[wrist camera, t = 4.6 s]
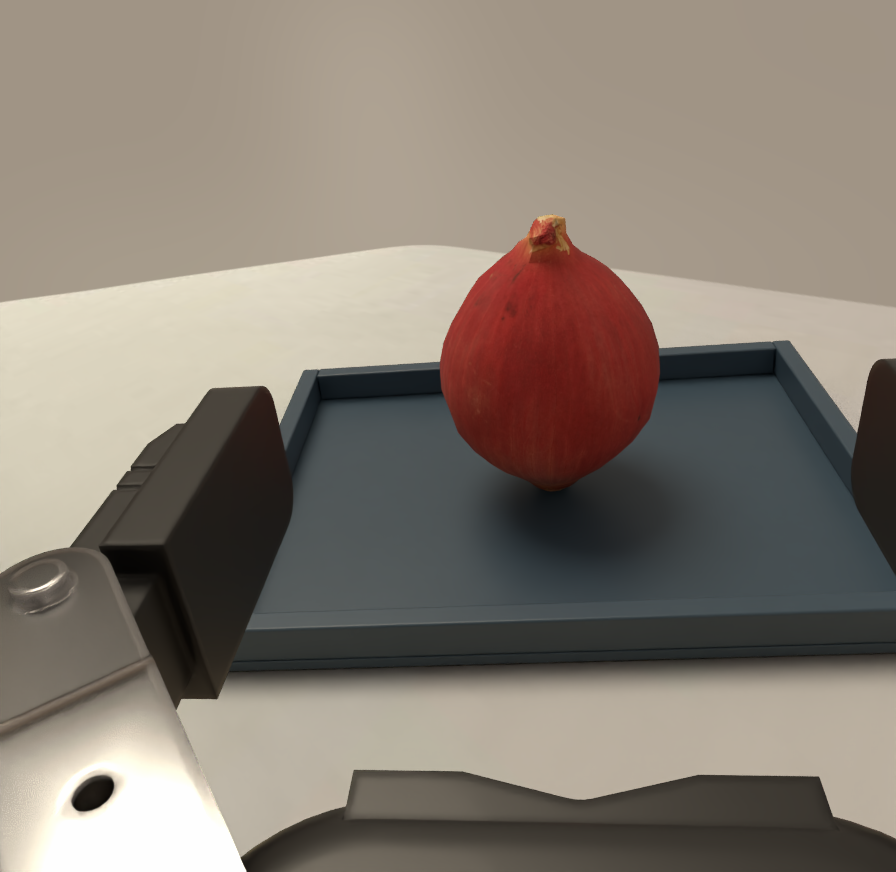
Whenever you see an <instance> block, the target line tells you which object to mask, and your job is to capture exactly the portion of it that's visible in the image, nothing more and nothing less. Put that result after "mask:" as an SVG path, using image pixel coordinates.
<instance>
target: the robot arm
mask: <svg viewBox="0 0 896 872" xmlns="http://www.w3.org/2000/svg"><path fill="white" fill-rule="evenodd" d="M851 486H852V493H853V498H854V501H855V504H856V507H857V509H858V511H859V513H860V515H861V517H862V518H863V520H864V522H865V524H866V525H867V527H868V529H869V531H870V532H871V534H872V536H873V537H874V539H875V541H876V543H877V544H878V546H879V548H880V550H881V551H882V553H883V555H884V557H885V558H886V560H887V562H888V564H889V565H890V567H891V569H892V571H893V572H894V574H895V576H896V359H880V360H878V361H876V362H875V363H874V365H873V366H872V368H871V370H870V373H869V376H868V381H867V386H866V391H865V396H864V401H863V406H862V412H861V417H860V422H859V427H858V432H857V438H856V443H855V448H854V453H853V459H852V465H851ZM292 511H293V484H292V478H291V473H290V469H289V465H288V460H287V456H286V452H285V448H284V443H283V439H282V435H281V430H280V426H279V422H278V418H277V413H276V409H275V405H274V401H273V398H272V395H271V393H270V391H269V390H268V389H267V388H266V387H264V386H252V387H230V388H212V389H210V390H209V391H208V392H207V394H206V395H205V396H204V398H203V399H202V401H201V402H200V404H199V405H198V406H197V408H196V409H195V411H194V412H193V413H192V415H191V416H190V418H189V419H188V420H187V422H186V423H185V424H176V425H174V426H173V427H171V428H170V429H169V430H167V431H166V432H164V433H163V434H161V435H160V436H159V437H157V438H156V439H154V440H153V441H151V442H150V443H148V444H147V446H146V447H145V448H144V450H143V451H142V452H141V454H140V455H139V456H138V458H137V459H136V460H135V462H134V463H133V464H132V466H131V471H127V472H126V473H125V475H124V476H123V477H122V479H121V480H120V481H119V483H118V484H117V490H113V491H112V492H111V493H110V495H109V496H108V497H107V499H106V500H105V501H104V503H103V504H102V505H101V507H100V508H99V509H98V511H97V512H96V513H95V515H94V516H93V517H92V519H91V520H90V521H89V523H88V524H87V525H86V526H85V528H84V529H83V530H82V532H81V533H80V534H79V536H78V537H77V538H76V540H75V541H74V542H73V544H72V545H71V546H70V548H62V549H56V550H52V551H48V552H44V553H41V554H38V555H35V556H32V557H30V558H28V559H25V560H23V561H21V562H19V563H17V564H15V565H14V566H12V567H10V568H8V569H7V570H5V571H4V572H2V573H1V574H0V872H896V839H895V838H893V837H891V836H889V835H886V834H884V833H882V832H880V831H877V830H874V829H871V828H868V827H865V826H862V825H860V824H857V823H854V822H851V821H848V820H844V819H840V818H836V817H833V816H832V813H831V810H830V807H829V804H828V801H827V798H826V795H825V792H824V789H823V787H822V784H821V781H820V778H819V777H808V776H738V775H696V776H692V777H687V778H683V779H678V780H674V781H669V782H665V783H660V784H656V785H652V786H647V787H643V788H638V789H634V790H629V791H625V792H620V793H616V794H611V795H607V796H602V797H598V798H593V799H587V800H575V799H569V798H564V797H560V796H556V795H553V794H549V793H545V792H541V791H537V790H533V789H529V788H525V787H521V786H517V785H513V784H509V783H505V782H501V781H497V780H493V779H490V778H486V777H482V776H478V775H474V774H470V773H466V772H458V771H388V770H354V772H353V776H352V781H351V786H350V790H349V795H348V800H347V805H346V807H342V808H338V809H334V810H330V811H328V812H325V813H322V814H319V815H316V816H313V817H310V818H308V819H305V820H303V821H301V822H299V823H297V824H294V825H292V826H290V827H288V828H286V829H284V830H282V831H280V832H278V833H277V834H275V835H273V836H272V837H270V838H268V839H267V840H265V841H263V842H262V843H260V844H258V845H257V846H255V847H254V848H253V849H251V850H250V851H249V852H247V853H246V854H245V855H243V856H242V857H241V858H240V856H239V854H238V852H237V849H236V847H235V845H234V842H233V840H232V838H231V836H230V833H229V831H228V829H227V826H226V824H225V822H224V819H223V817H222V815H221V813H220V810H219V808H218V806H217V803H216V801H215V799H214V796H213V794H212V792H211V790H210V787H209V785H208V783H207V780H206V778H205V776H204V773H203V771H202V769H201V767H200V764H199V762H198V760H197V757H196V755H195V753H194V751H193V748H192V746H191V744H190V741H189V739H188V737H187V734H186V732H185V730H184V728H183V725H182V723H181V721H180V718H179V716H178V714H177V711H176V710H177V707H178V705H179V703H180V701H181V699H218V696H219V694H220V691H221V689H222V686H223V684H224V681H225V679H226V677H227V674H228V672H229V669H230V667H231V664H232V662H233V660H234V657H235V655H236V652H237V650H238V647H239V645H240V643H241V640H242V638H243V635H244V633H245V630H246V628H247V625H248V623H249V621H250V618H251V616H252V613H253V611H254V608H255V606H256V604H257V601H258V599H259V596H260V594H261V591H262V589H263V586H264V584H265V582H266V579H267V577H268V574H269V572H270V569H271V567H272V565H273V562H274V560H275V557H276V555H277V552H278V550H279V548H280V545H281V543H282V540H283V538H284V535H285V533H286V530H287V528H288V526H289V523H290V520H291V516H292Z"/></svg>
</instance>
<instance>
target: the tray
mask: <svg viewBox="0 0 896 872" xmlns="http://www.w3.org/2000/svg"><path fill="white" fill-rule="evenodd" d="M659 363H660V376H659V383H658V390H657V394H656V397H655V401H654V405H653V409H652V412H651V416H650V419H649V420H648V422H647V423H646V425H645V426H644V427H643V429H642V430H641V431H640V433H639V434H638V435H637V437H636V438H635V439H634V441H633V442H632V443H631V444H630V445H628V446H627V447H626V448H625V449H624V450H623V451H622V452H620V453H619V454H618V455H617V456H616V457H614V458H613V459H612V460H610V461H609V462H608V463H606V464H605V465H604V466H602V467H601V468H600V469H598V470H596V471H594V472H592V473H590V474H588V475H586V476H585V477H583V478H581V479H579V480H578V481H577V482H575V483H574V484H573V485H571V486H569V487H567V488H564V489H562V490H559V491H551V492H550V491H546V490H542V489H540V488H537V487H536V486H534V485H533V484H532V483H530V482H528V481H526V480H524V479H521V478H519V477H516V476H513V475H510V474H507V473H505V472H504V471H502V470H500V469H498V468H497V467H495V466H493V465H492V464H490V463H489V462H488V461H486V460H485V459H484V458H482V457H481V456H480V455H479V454H477V453H476V452H475V451H474V450H473V449H472V448H471V447H470V446H469V445H468V443H467V442H466V441H465V440H464V439H463V438H462V437H461V436H460V434H459V433H458V431H457V429H456V426H455V423H454V420H453V418H452V415H451V413H450V410H449V407H448V405H447V402H446V400H445V397H444V395H443V392H442V390H441V377H440V362H430V363H414V364H398V365H382V366H365V367H349V368H333V369H321V370H304V371H303V373H302V376H301V378H300V380H299V382H298V385H297V387H296V389H295V391H294V394H293V396H292V398H291V400H290V403H289V405H288V407H287V410H286V412H285V414H284V416H283V419H282V421H281V423H280V425H279V426H280V430H281V435H282V439H283V443H284V448H285V452H286V456H287V460H288V465H289V469H290V473H291V478H292V484H293V511H292V516H291V520H290V523H289V526H288V528H287V530H286V533H285V535H284V538H283V540H282V543H281V545H280V548H279V550H278V552H277V555H276V557H275V560H274V562H273V565H272V567H271V569H270V572H269V574H268V577H267V579H266V582H265V584H264V586H263V589H262V591H261V594H260V596H259V599H258V601H257V604H256V606H255V608H254V611H253V613H252V616H251V618H250V621H249V623H248V625H247V628H246V630H245V633H244V635H243V638H242V640H241V643H240V645H239V647H238V650H237V652H236V655H235V657H234V660H233V662H232V664H231V667H230V669H229V671H255V670H291V669H327V668H363V667H399V666H435V665H471V664H507V663H542V662H578V661H614V660H650V659H686V658H722V657H758V656H794V655H829V654H865V653H896V576H895V574H894V572H893V571H892V569H891V567H890V565H889V564H888V562H887V560H886V558H885V557H884V555H883V553H882V551H881V550H880V548H879V546H878V544H877V543H876V541H875V539H874V537H873V536H872V534H871V532H870V531H869V529H868V527H867V525H866V524H865V522H864V520H863V518H862V517H861V515H860V513H859V511H858V509H857V507H856V504H855V501H854V498H853V493H852V486H851V465H852V459H853V453H854V448H855V443H856V438H857V433H856V431H855V430H854V429H853V427H852V426H851V425H850V423H849V422H848V421H847V419H846V418H845V416H844V415H843V414H842V412H841V411H840V410H839V408H838V407H837V405H836V404H835V403H834V401H833V400H832V399H831V397H830V396H829V395H828V393H827V392H826V390H825V389H824V388H823V386H822V385H821V384H820V382H819V381H818V379H817V378H816V377H815V375H814V374H813V373H812V371H811V370H810V369H809V367H808V366H807V364H806V363H805V362H804V360H803V359H802V358H801V356H800V355H799V353H798V352H797V351H796V349H795V348H794V347H793V345H792V344H791V343H790V341H773V342H755V343H738V344H722V345H706V346H690V347H674V348H659Z"/></svg>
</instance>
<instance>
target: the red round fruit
mask: <svg viewBox="0 0 896 872" xmlns="http://www.w3.org/2000/svg"><path fill="white" fill-rule="evenodd" d="M659 376H660V363H659V345H658V342H657V339H656V336H655V332H654V329H653V326H652V323H651V321H650V319H649V317H648V316H647V314H646V312H645V310H644V308H643V307H642V305H641V304H640V302H639V301H638V300H637V298H636V297H635V296H634V295H633V293H632V292H631V291H630V289H629V288H628V287H627V286H626V285H625V284H624V283H623V281H622V280H621V279H620V278H619V277H618V276H617V275H616V274H615V273H614V272H613V271H611V270H610V269H609V268H608V267H607V266H605V265H604V264H602V263H601V262H599V261H598V260H596V259H595V258H593V257H591V256H589V255H587V254H585V253H583V252H581V251H580V250H579V249H578V248H576V247H575V246H574V245H573V244H572V242H571V241H570V239H569V237H568V235H567V234H566V225H565V218H562V217H559V216H556V215H553V214H552V215H546V216H540V217H538V218H537V219H536V220H535V221H534V222H533V224H532V227H531V229H530V231H529V233H528V235H527V237H526V238H524V239H523V240H521V241H520V242H518V243H517V245H516V246H515V247H514V248H513V249H512V250H511V251H510V252H509V253H507V254H506V255H504V256H503V257H502V258H501V259H500V260H499V261H497V262H496V263H495V264H494V265H493V266H492V267H491V268H490V269H488V270H487V271H486V272H485V273H484V274H483V275H482V276H480V277H479V278H478V280H477V281H476V283H475V284H474V286H473V287H472V289H471V290H470V292H469V293H468V295H467V297H466V299H465V300H464V302H463V304H462V306H461V307H460V309H459V311H458V313H457V314H456V316H455V318H454V320H453V321H452V323H451V326H450V328H449V331H448V333H447V335H446V338H445V340H444V343H443V349H442V354H441V360H440V377H441V390H442V392H443V395H444V397H445V400H446V402H447V405H448V407H449V410H450V413H451V415H452V418H453V420H454V423H455V426H456V429H457V431H458V433H459V434H460V436H461V437H462V438H463V439H464V440H465V441H466V442H467V443H468V445H469V446H470V447H471V448H472V449H473V450H474V451H475V452H476V453H477V454H479V455H480V456H481V457H482V458H484V459H485V460H486V461H488V462H489V463H490V464H492V465H493V466H495V467H497V468H498V469H500V470H502V471H504V472H505V473H507V474H510V475H513V476H516V477H519V478H521V479H524V480H526V481H528V482H530V483H532V484H533V485H534V486H536V487H537V488H540V489H542V490H546V491H550V492H551V491H559V490H562V489H564V488H567V487H569V486H571V485H573V484H574V483H575V482H577V481H578V480H579V479H581V478H583V477H585V476H586V475H588V474H590V473H592V472H594V471H596V470H598V469H600V468H601V467H602V466H604V465H605V464H606V463H608V462H609V461H610V460H612V459H613V458H614V457H616V456H617V455H618V454H619V453H620V452H622V451H623V450H624V449H625V448H626V447H627V446H628V445H630V444H631V443H632V442H633V441H634V439H635V438H636V437H637V435H638V434H639V433H640V431H641V430H642V429H643V427H644V426H645V425H646V423H647V422H648V420H649V419H650V416H651V412H652V409H653V405H654V401H655V397H656V394H657V390H658V383H659Z"/></svg>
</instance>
